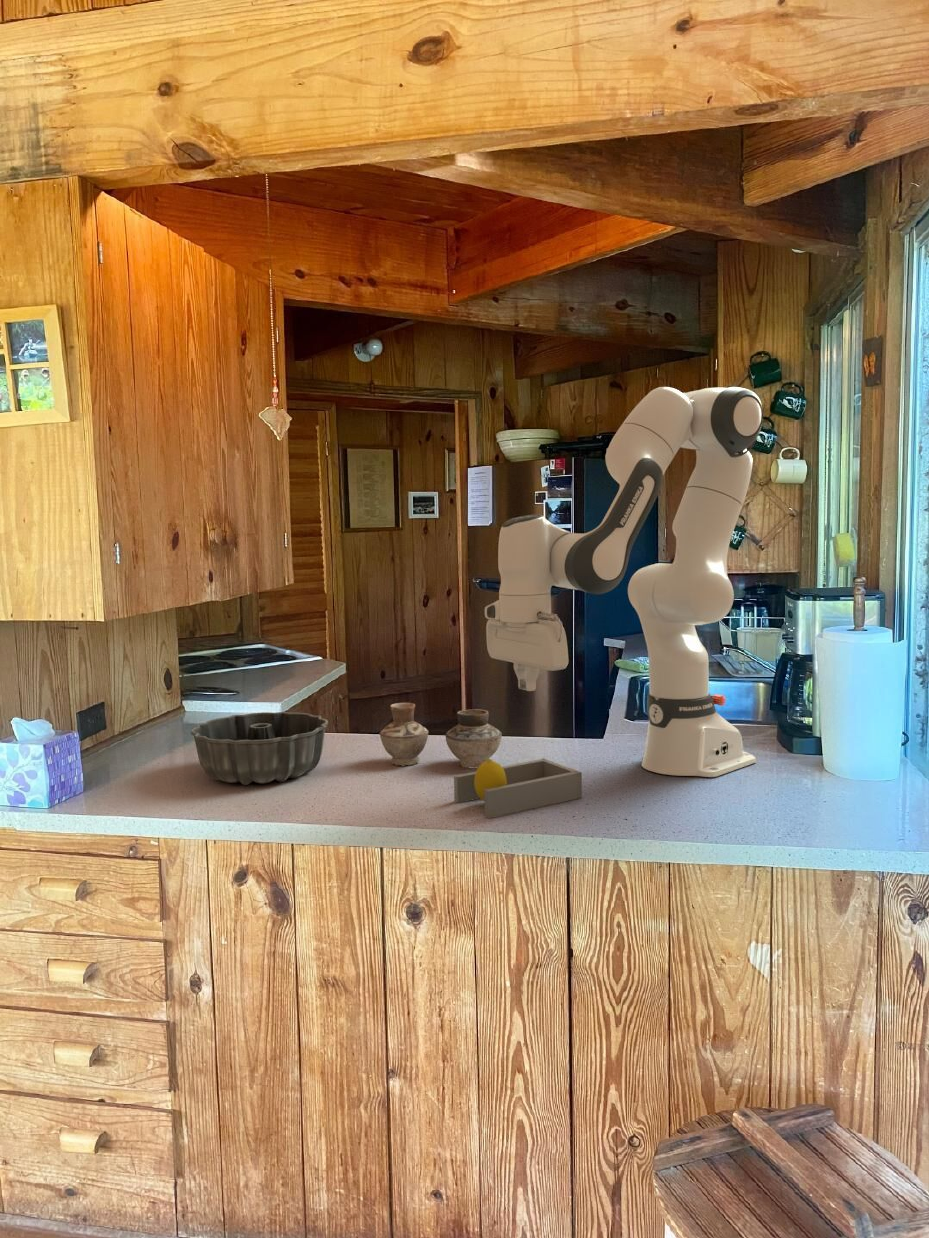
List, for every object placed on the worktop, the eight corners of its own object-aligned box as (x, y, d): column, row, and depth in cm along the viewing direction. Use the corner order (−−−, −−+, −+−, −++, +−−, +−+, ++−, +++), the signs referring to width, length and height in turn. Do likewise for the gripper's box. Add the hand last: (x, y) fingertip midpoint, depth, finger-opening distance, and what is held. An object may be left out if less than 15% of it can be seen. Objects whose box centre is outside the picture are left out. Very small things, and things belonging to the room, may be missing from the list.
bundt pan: (324, 751, 198) (321, 706, 197) (337, 785, 173) (334, 733, 171) (197, 763, 192) (194, 716, 191) (191, 799, 166) (187, 745, 165)
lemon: (504, 810, 154) (503, 764, 153) (472, 809, 155) (470, 763, 154) (509, 800, 159) (508, 755, 158) (478, 799, 160) (476, 754, 159)
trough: (544, 782, 169) (543, 758, 169) (581, 797, 160) (581, 772, 159) (454, 800, 160) (453, 775, 160) (488, 818, 150) (487, 791, 150)
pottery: (389, 755, 193) (387, 699, 192) (506, 758, 188) (505, 700, 187) (373, 769, 182) (370, 710, 181) (496, 773, 177) (495, 712, 176)
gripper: (576, 613, 150) (578, 696, 152) (509, 605, 168) (511, 679, 169) (544, 616, 147) (546, 701, 148) (479, 607, 165) (481, 683, 166)
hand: (527, 689), depth 159 cm, fingers closed
